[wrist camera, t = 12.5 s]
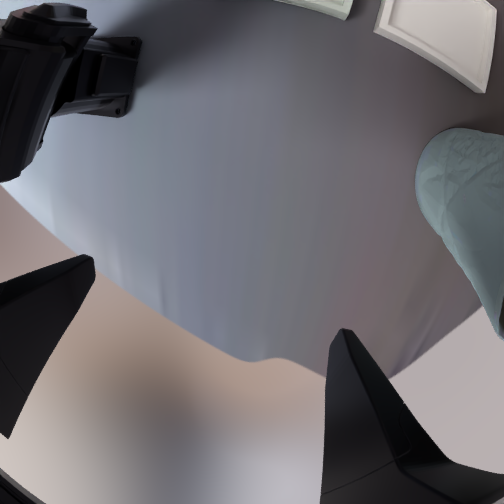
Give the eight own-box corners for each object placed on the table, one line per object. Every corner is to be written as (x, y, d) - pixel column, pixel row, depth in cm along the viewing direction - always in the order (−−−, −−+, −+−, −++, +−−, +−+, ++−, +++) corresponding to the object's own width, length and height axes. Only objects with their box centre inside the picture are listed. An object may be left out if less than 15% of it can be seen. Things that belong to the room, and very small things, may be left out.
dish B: (372, 31, 12) (378, 26, 11) (392, -48, 8) (398, -55, 7) (474, 92, 13) (484, 93, 11) (487, 12, 8) (496, 9, 7)
